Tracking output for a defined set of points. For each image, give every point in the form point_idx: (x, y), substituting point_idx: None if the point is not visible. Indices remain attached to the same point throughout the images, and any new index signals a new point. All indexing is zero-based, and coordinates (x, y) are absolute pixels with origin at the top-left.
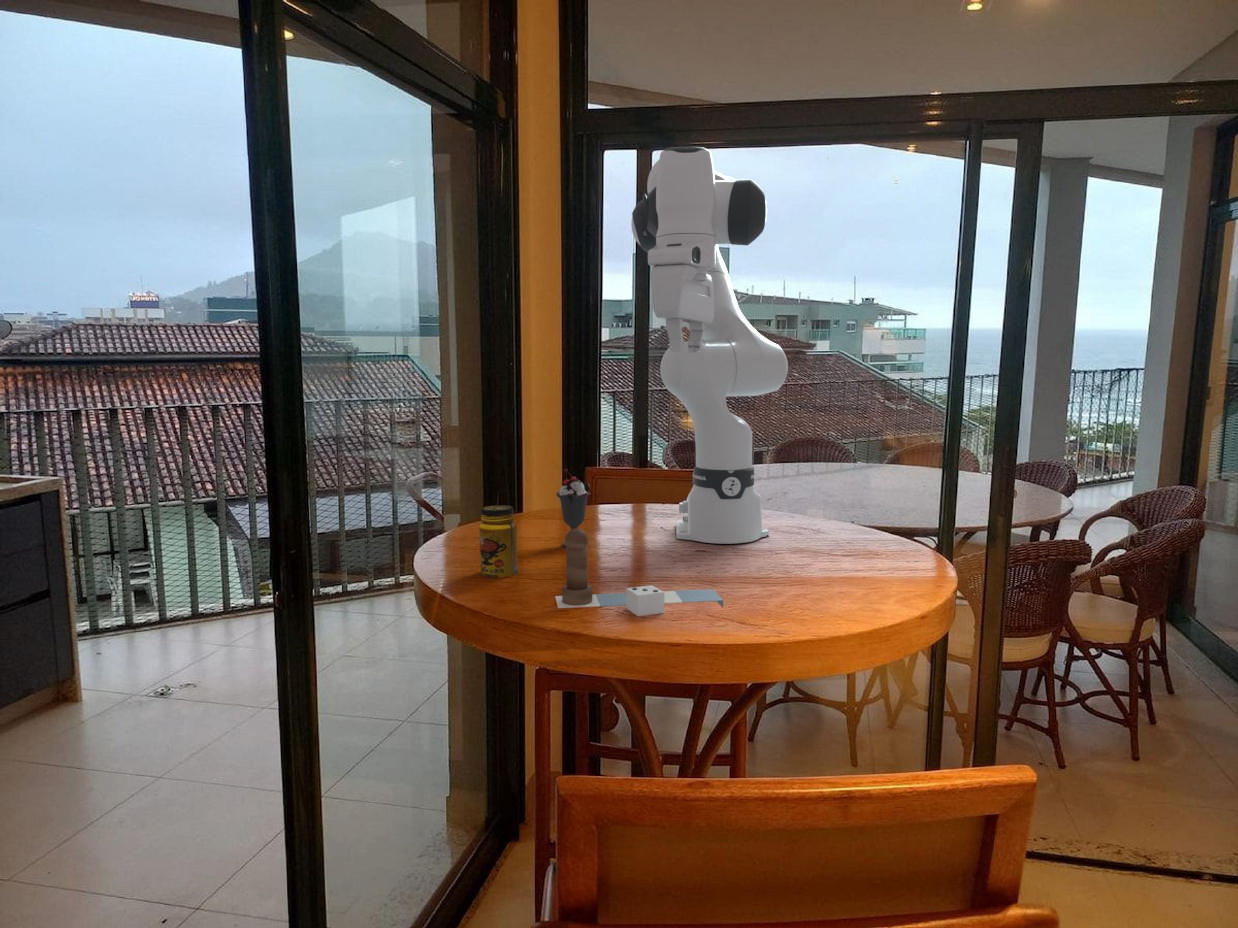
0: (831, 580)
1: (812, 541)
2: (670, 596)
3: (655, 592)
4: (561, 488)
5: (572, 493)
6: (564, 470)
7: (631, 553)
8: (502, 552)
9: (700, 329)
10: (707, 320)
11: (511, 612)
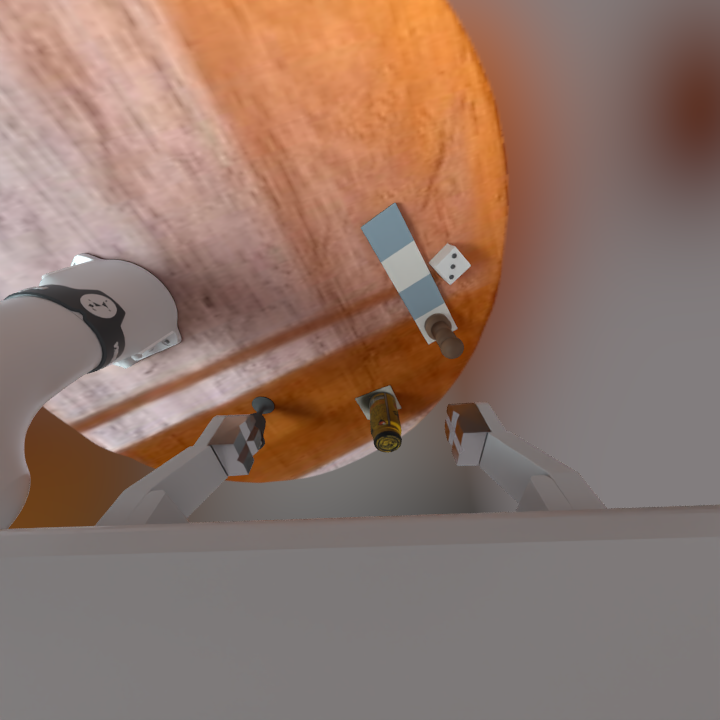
0: (232, 97)
1: (56, 186)
2: (400, 258)
3: (458, 254)
4: None
5: None
6: None
7: (260, 355)
8: (395, 410)
9: (168, 497)
10: (88, 532)
11: None
